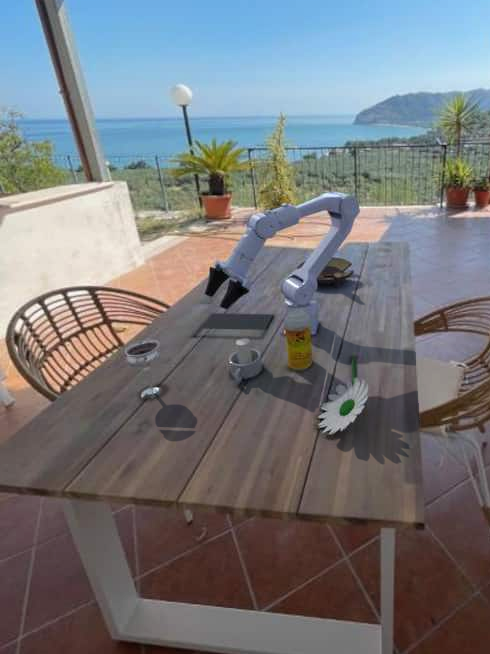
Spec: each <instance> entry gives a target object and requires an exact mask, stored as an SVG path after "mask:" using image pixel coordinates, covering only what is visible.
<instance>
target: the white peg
mask: <svg viewBox="0 0 490 654" xmlns="http://www.w3.org/2000/svg"><path fill="white" fill-rule="evenodd" d="M235 346H236V351H237V354H238V361H239V364H248V363H251V362H252V356H251V349H252V347H251V340H250V339H249V338H247V337H246V338H245V337H244V338H239V339H237V340H236V342H235Z"/></svg>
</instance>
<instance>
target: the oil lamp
mask: <svg viewBox="0 0 490 654" xmlns="http://www.w3.org/2000/svg"><path fill="white" fill-rule="evenodd" d="M306 261H307V260H305V261H303V262H301V263H300V264H299V265H297V268H296V270H297V269H300V268H301V267H302V266H303V265H304V263H305V262H306ZM352 265H353V264H352V262H350V261H349V260H347V259H344V258H341V257H334V256H333V257H332V258H331V259H330V261H329V262H328V264H327V265H326V266H325V268H324V269H323V270H322V272H321V273H320V275H319V276H318V277H317V279H316V280H317V284H332V285H334V286H340V285H341V284H342V283H343V281H344V280H346V279H348V278H350V277H352V275H353V274H354V273H355V271H354V270H349V271H347V270H348V269H349V268H350V267H351V266H352ZM345 271H346V272H345ZM326 277H330V278H326ZM331 277H332V278H331Z"/></svg>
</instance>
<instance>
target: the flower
mask: <svg viewBox="0 0 490 654" xmlns="http://www.w3.org/2000/svg"><path fill="white" fill-rule="evenodd" d="M351 377H352V381H351V380H350V379H347V380H346V381H345V382H346V383H345V385H346V386H345V385H343V384H338V386H336V387H335V391H336V393H330V394H328V395H327V396H328V398H329V400H331V401H327V402H323V403H322V406H321V407H320V409H321V410H323V411H325V412H323V413H321V414H319V415H318V417H317V419H323V420H322V421H321V422H319V423H318V424H317V426H318V429H322V428H325V429H324V430H323V431H322V432H321V433H322V434H324V433H326V432H328V431H330V432H329V434H328V436H329V435H334V434H335V433H336V432H338V431H340V432H342V431H345V430H346V429H347V427H348V426H349V425H350V424H351V423H354V422H355V421H356V418H357V417H358V416H357V415H360V414H361V413H362V412H363V410H364V409H365V403H367V401H368V399H369V395H368V392H369V389H370V388H369V384H366V380H365V379H362V380H360V377H356V376H355V355H352V356H351Z"/></svg>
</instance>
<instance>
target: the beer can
mask: <svg viewBox="0 0 490 654" xmlns="http://www.w3.org/2000/svg"><path fill="white" fill-rule="evenodd" d="M283 321H284V330H285V333H286V334H285V341H286V342H285V343H286V344H285V345H286V356H287V365H288V367H289V368H291V369H292V370H294V371H303V370H307V369H308V368H310V366H312V364H313V355H312V354H313V353H312V352H313V351H312V334H311V332H310V316H309V314H308V311H307V310H306V309H303V308H294V309H290V310H288V311H287V312H286V311H285V315H284V317H283Z"/></svg>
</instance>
